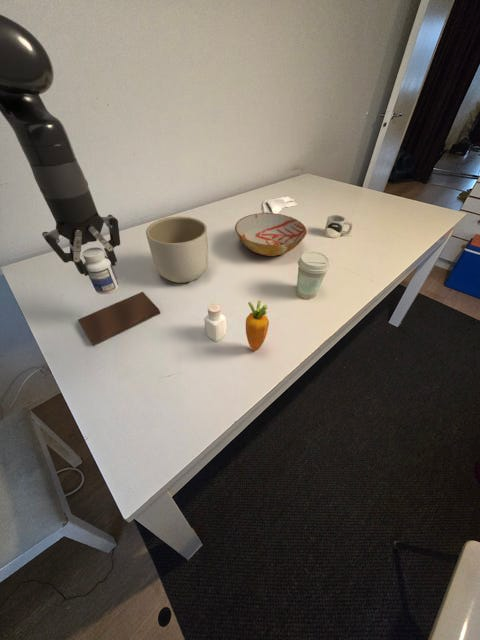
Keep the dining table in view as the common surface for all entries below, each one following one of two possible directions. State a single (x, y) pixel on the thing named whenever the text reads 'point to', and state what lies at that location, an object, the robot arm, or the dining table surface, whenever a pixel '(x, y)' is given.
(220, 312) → the pepper shaker
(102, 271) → the pill bottle
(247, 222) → the bowl
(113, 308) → the board
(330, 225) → the mug
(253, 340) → the carrot
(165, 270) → the planter
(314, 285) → the coffee cup
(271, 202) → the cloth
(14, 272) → the dining table surface
